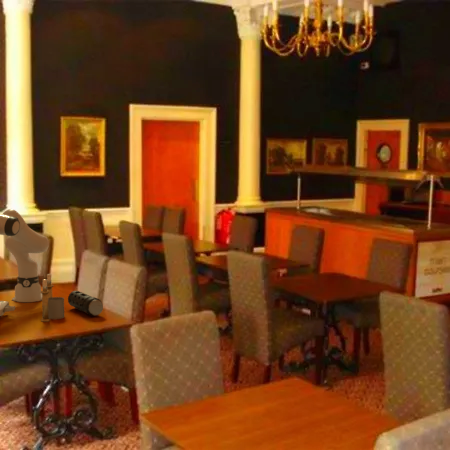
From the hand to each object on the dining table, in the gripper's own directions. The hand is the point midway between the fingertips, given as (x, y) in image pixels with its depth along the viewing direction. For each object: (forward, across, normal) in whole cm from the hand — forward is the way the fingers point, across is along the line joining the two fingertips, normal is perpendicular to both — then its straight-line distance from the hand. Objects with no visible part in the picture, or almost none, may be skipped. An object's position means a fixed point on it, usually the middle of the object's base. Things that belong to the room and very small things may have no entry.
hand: (14, 308), depth 367 cm
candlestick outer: (+17, -8, +5) cm, 19 cm away
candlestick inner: (+17, +8, +5) cm, 19 cm away
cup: (+21, 0, +5) cm, 22 cm away
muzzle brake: (+36, +9, +5) cm, 37 cm away
